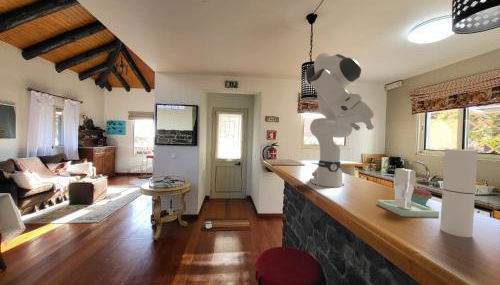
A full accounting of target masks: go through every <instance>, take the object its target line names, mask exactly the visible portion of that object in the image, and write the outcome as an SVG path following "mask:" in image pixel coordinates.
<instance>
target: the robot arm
mask: <svg viewBox="0 0 500 285" xmlns="http://www.w3.org/2000/svg"><path fill="white" fill-rule="evenodd" d="M304 72H305V73H304V78H305V79H304V80H305V81H306V83H307V84H308V85H310V86H312V88H314V90H315V92H316V96H317V97H316V98H317V104H318V105H317V106H318V111H319V113H320V114H321V115H322V116H324V117H320V118H319V117H318V118H314V119H313V120H312V121H311V123H310V127H309V130H310V133H311V134H312V136H314V137H315V138H316V140H317V142H318V144H319V160H318V164H317V166H318V167H317V168H316V169H315V170H314V171H313V172H312V173H311V176H312V178H309V181H310V180H311V181H310V182H311V184H312V183H313V184H312V185H315V184H316V186H321V187H330V188H340V187H343V186H345V183H344V182H343V171H342V170H341V148H340V146H339V145H338V144H336V143H335V141H334V138H337V139H338V138H339V139H341V138H347V137H350V135H351V134H352V132H353V129H354V130H355V131H359V130H360V129H361V127H360V125H358V124H357V123H363V124H365V125H366V126H365V127H366V129H367V130H368V131H369V130H373V129H374V127H375V126H374V124H372V120H371V119H372V118H374V111H373V110H372V109H371V108H370V106H369V105H368V104H367V103H366V102H365V101H364V100H363V97H362V96H361V95H360V94H358V93H351V92H349V90H347V89H345V88H346V87H348V86H350V85H351V84H352V83H353V82H354V81H356V80H358V79H359V78H360V77H361V74H362V68H361V66H360V64H359V62H358V61H357V60H355V59H353V58H352V57H347V56H345V55H342V54H340V53H336V54H333V55H332V54H331V53H327V52H322V53H319V54H318V55H317V56H316V57H315V60H314V62H313V65H310V66H309V67H307V68H306V70H305V71H304Z"/></svg>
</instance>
